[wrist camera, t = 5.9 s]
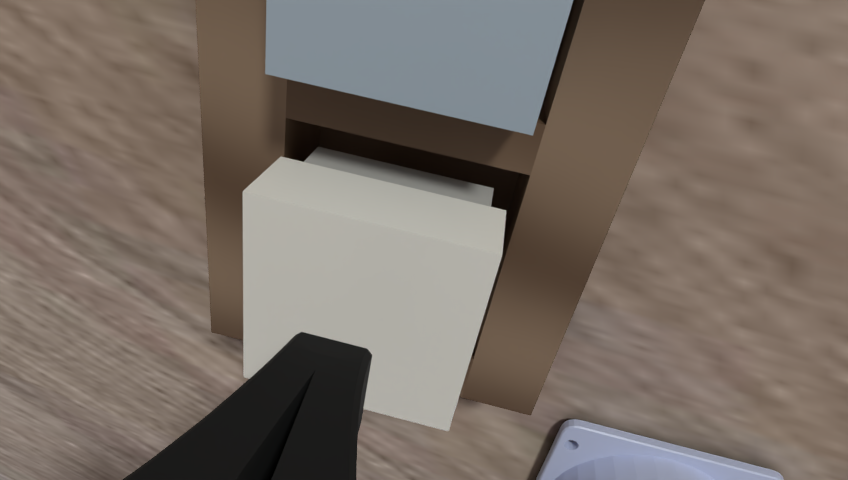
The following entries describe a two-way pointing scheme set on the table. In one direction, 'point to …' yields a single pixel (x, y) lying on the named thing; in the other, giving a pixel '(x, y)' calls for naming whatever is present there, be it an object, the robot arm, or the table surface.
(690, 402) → the table surface
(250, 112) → the brown long flat frame
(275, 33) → the slate key
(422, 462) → the table surface
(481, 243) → the ivory key
